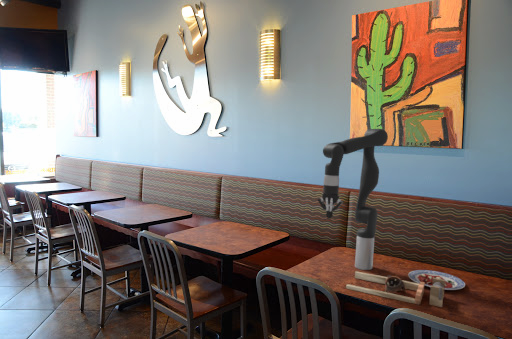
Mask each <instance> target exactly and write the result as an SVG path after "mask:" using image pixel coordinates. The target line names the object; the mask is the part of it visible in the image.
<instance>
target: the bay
mask: <svg viewBox="0 0 512 339" xmlns="http://www.w3.org/2000/svg"><path fill="white" fill-rule="evenodd" d="M387 278H388V276H382V275H378V274H372V273H368V272H361V271H357V270H355V271H354V279H357V280H363V281H367V282H372V283H376V284H382V285H385V281H386V279H387ZM401 280H402V279H401ZM402 281H403V282H404V285H405V288H406V290H411V291H416V293H415V298H414V297H410V296H409V297H408V296H406V295H405V296H404V295H400V294H395V293H392V292H388V291H387V292H385V291H382V290H377V289H373V288H367V287H363V286H358V285H353V284H349V283H347V284H346V286H345V289H346V290H347V289H348V290H351V291H355V292H360V293H365V294H369V295H374V296H379V297H382V298H388V299H392V300H396V301H401V302H406V303H410V304H414V305H415V304H416V305H419V306H420V305H421V302H422V298H423V296H424V292H425V286H424V285H425V283H424V282H420V283H417V282H414V281H408V280H402ZM387 284H388V285H389V283H388V282H387ZM394 286H395V285H394Z"/></svg>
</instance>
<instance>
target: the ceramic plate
mask: <svg viewBox="0 0 512 339" xmlns="http://www.w3.org/2000/svg"><path fill="white" fill-rule="evenodd" d="M407 274H408V275H407V276H408V278H409V279H410V280H411V281H412V282H413V283H418V284H419V283H420V282H424V283H425V285H424V287H427V288H431V285H432V282H433V278H438V279H443V280H445V288H444V291H445V290H447V291H456V290H461V289H463V288H465V286H466V283H465V282H464V281H463V280H462V279H461V278H459V277H457V276H455V275H452V274H449V273H446V272H441V271H438V270H437V271H436V270H427V269H417V270H412V271H410V272H408V273H407Z"/></svg>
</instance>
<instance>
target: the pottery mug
mask: <svg viewBox="0 0 512 339" xmlns="http://www.w3.org/2000/svg"><path fill="white" fill-rule="evenodd" d="M387 277H388V278H387V279H386V281H385V284H384V292H387V293H395V292H396V293H397V292H399V291H400V292H402V291H404V293H405V294H406V293H407V289H406V288H405V285H404V282H403V281H404V280H403V281H402V278H400V277H398V276H396V275H392V274H391V275H390V274H389V275H387ZM387 282H388V283H389V285H388V284H387ZM394 285H395V286H394Z"/></svg>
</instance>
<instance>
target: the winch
mask: <svg viewBox="0 0 512 339" xmlns="http://www.w3.org/2000/svg"><path fill="white" fill-rule="evenodd" d="M444 288H445V280H443V279H438V278H433V282H432V285H431V287H430V291H429V304H428V305H429V306H430V305H431V306H435V307H437V308H438V307H439V308H443V300H444V296H445V290H444Z"/></svg>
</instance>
